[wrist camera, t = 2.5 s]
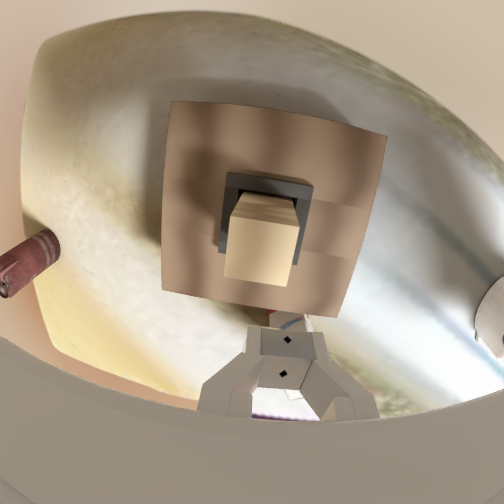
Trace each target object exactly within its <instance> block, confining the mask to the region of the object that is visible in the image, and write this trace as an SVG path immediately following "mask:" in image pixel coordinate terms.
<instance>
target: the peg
mask: <svg viewBox="0 0 504 504" xmlns="http://www.w3.org/2000/svg"><path fill="white" fill-rule="evenodd" d="M299 228H300V227H299V223H298V219H297V216H296V212H295V209H294V205H293V202H292V198H291V197H289V196H283V195H278V194H272V193H265V192H259V191H253V190H246V189H245V190H244V192H243V194H242V195H241V197H240V199H239V201H238V203H237V205H236V206H235V208H234V210H233V212H232V214H231V216H230V223H229V231H228V240H227V249H226V258H225V267H224V276H223V277H228V278H234V279H240V280H246V281H252V282H258V283H264V284H271V285H277V286H284V287H286V286H287V282H288V277H289V273H290V269H291V264H292V260H293V256H294V251H295V247H296V242H297V237H298V233H299Z"/></svg>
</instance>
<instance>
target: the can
mask: <svg viewBox="0 0 504 504" xmlns="http://www.w3.org/2000/svg"><path fill="white" fill-rule="evenodd" d="M59 256H60V244H59V241H58V239H57V237H56V236H55V235H54V234H53V233H52V232H50V231H47V230H43V231H40V232H39V233H37V234H35V235H34V236H32V237H30V238H29V239H27V240H25V241H24V242H22V243H20V244H19V245H17V246H16V247H14V248H12V249H11V250H9V251H8V252H6V253H5V254H3V255H2V256H0V296H2V297H3V298H8V297H12V296H13V295H14V294H16V293H17V292H18V291H19V290H20V289H21V288H23V287H24V286H25V285H26V284H28V283H29V282H30V281H31V280H33V279H34V278H35V277H36V276H38V275H39V274H40V273H41V272H43V271H44V270H45V269H47V268H48V267H49V266H50V265H52V264H53V263H54V262H56V261H57V260H58V258H59Z"/></svg>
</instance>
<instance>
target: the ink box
mask: <svg viewBox="0 0 504 504" xmlns="http://www.w3.org/2000/svg"><path fill="white" fill-rule="evenodd" d="M269 321H270V327H271V328H278V329H286V330H294V331H305V332H314V331H313V328H312V325H311V322H310V320H309V317H308V315H307V314H301V313H293V312H286V311H279V310H272V309H269ZM283 390H284V391H285V393H286V395H287V397H288V399H289V400H297V399H302V398H304V397H303V396H302V394H301V393H300V392H299V391H300V390H288V389H283Z"/></svg>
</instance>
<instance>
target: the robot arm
mask: <svg viewBox="0 0 504 504" xmlns="http://www.w3.org/2000/svg"><path fill="white" fill-rule="evenodd" d="M475 329H476V331H477V337H476V341H477V342H478V343H479V344H481V343H485V344H486V345H487V347H488V348H489V349H490V350H491V351H492V353H493V354H494V355H495V356H496V357H497V358H504V276H503V277H501V278H500V279H499V280H497V281H496V282H495V283H494V285H493V286H492V287H491V288H490V289H489V291H488V292H487V293H486V295H485V297H484V298H483V300H482V302H481V304H480V306H479V308H478V310H477V313H476V317H475ZM257 387H263V388H278V389H288V390H300V391H299V392H300V393H301V394H302V396H303V397H304V399H305V400H306V401H307V403H308V404H309V405H310V407H311V408H312V409H313V410H314V412H315V413H316V414H317V416H318V417H319V418H320V421H319V422H304V421H278V420H264V419H252V418H251V416H252V395H251V394H252V393H253V392H254V390H255V389H256V388H257ZM0 504H504V389H502V390H500V391H497V392H494V393H491V394H488V395H485V396H482V397H479V398H476V399H473V400H469V401H466V402H462V403H459V404H455V405H451V406H447V407H443V408H438V409H434V410H429V411H424V412H418V413H413V414H406V415H400V416H393V417H385V418H380V416H379V413H378V409H377V406H376V403H375V400H374V397H373V395H372V394H371V393H370V392H369V391H368V390H367V389H365V388H364V387H363V386H362V385H361V384H360V383H359V382H357V381H356V380H355V379H354V378H353V377H352V376H351V375H349V374H348V373H347V372H346V371H345V370H344V369H343V368H342V367H340V366H339V365H338V364H337V363H336V362H335V361H332V360H330V357H329V353H328V349H327V345H326V342H325V338H324V334H323V333H322V332H305V331H294V330H286V329H278V328H271V327H264V326H257V325H250V324H248V326H247V331H246V336H245V342H244V347H243V352H241V353H240V354H239V355H238V356H236V357H235V358H234V359H233V360H232V361H230V362H229V363H228V364H227V365H226V366H224V367H223V368H222V369H221V370H220V371H218V372H217V373H216V374H215V375H213V376H212V377H211V378H210V379H209V380H207V381H206V382H205V383H204V384H203V385H202V390H201V394H200V398H199V403H198V407H197V410H191V409H187V408H182V407H177V406H173V405H168V404H164V403H160V402H156V401H152V400H149V399H145V398H141V397H138V396H135V395H131V394H128V393H125V392H121V391H119V390H115V389H112V388H110V387H107V386H104V385H101V384H98V383H96V382H93V381H90V380H88V379H85V378H83V377H80V376H77V375H75V374H73V373H71V372H68V371H66V370H64V369H62V368H59V367H57V366H55V365H52V364H50V363H48V362H47V361H44V360H42V359H40V358H38V357H37V356H35V355H33V354H31V353H29V352H27V351H25V350H23V349H22V348H20V347H18V346H16V345H14V344H13V343H11V342H10V341H8V340H7V339H5V338H3V337H0Z"/></svg>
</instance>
